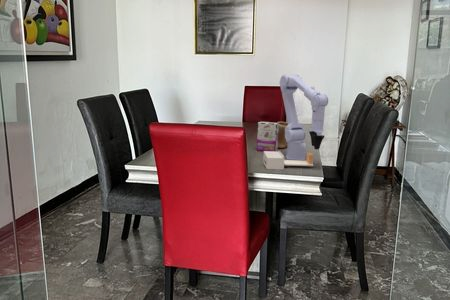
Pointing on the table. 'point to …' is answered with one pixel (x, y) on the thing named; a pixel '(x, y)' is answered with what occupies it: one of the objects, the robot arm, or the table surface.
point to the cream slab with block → (301, 163)
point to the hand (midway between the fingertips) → (315, 147)
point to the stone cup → (282, 135)
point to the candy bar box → (267, 136)
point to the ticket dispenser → (273, 160)
